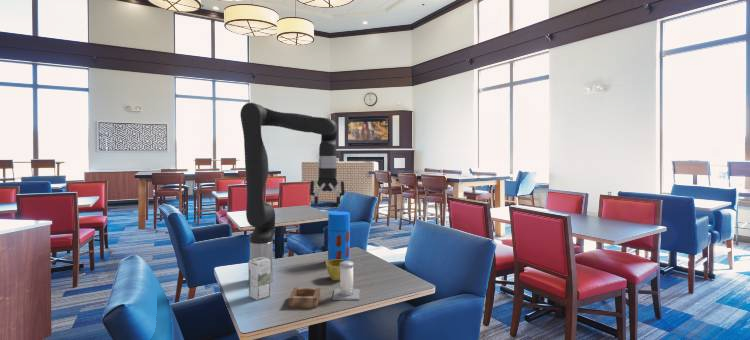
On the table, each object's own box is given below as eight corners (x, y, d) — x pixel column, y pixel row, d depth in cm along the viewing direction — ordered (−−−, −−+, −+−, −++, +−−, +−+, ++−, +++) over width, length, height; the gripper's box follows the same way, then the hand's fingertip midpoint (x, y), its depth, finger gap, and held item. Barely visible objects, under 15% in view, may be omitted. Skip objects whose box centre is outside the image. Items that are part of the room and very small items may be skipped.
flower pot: (340, 284, 159) (340, 267, 159) (321, 279, 164) (321, 263, 163) (353, 277, 168) (353, 261, 167) (334, 273, 173) (334, 258, 172)
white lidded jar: (339, 296, 144) (339, 265, 143) (340, 290, 149) (340, 261, 149) (353, 296, 144) (353, 265, 144) (353, 290, 150) (353, 260, 149)
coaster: (332, 300, 142) (332, 298, 142) (334, 290, 152) (334, 288, 152) (359, 300, 142) (359, 298, 142) (359, 290, 152) (359, 288, 152)
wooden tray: (288, 307, 134) (288, 297, 134) (293, 296, 144) (294, 287, 144) (316, 307, 135) (316, 298, 135) (320, 296, 145) (320, 287, 144)
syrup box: (261, 292, 148) (261, 256, 147) (270, 296, 144) (270, 259, 144) (248, 296, 144) (248, 259, 143) (257, 300, 140) (257, 262, 139)
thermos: (353, 261, 191) (354, 212, 190) (341, 267, 182) (341, 215, 181) (336, 258, 197) (337, 210, 196) (323, 263, 188) (323, 213, 187)
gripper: (309, 167, 153) (308, 206, 154) (344, 167, 154) (343, 207, 155) (311, 166, 161) (311, 204, 162) (345, 166, 161) (344, 204, 162)
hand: (327, 205), depth 158 cm, fingers open, 8 cm apart
